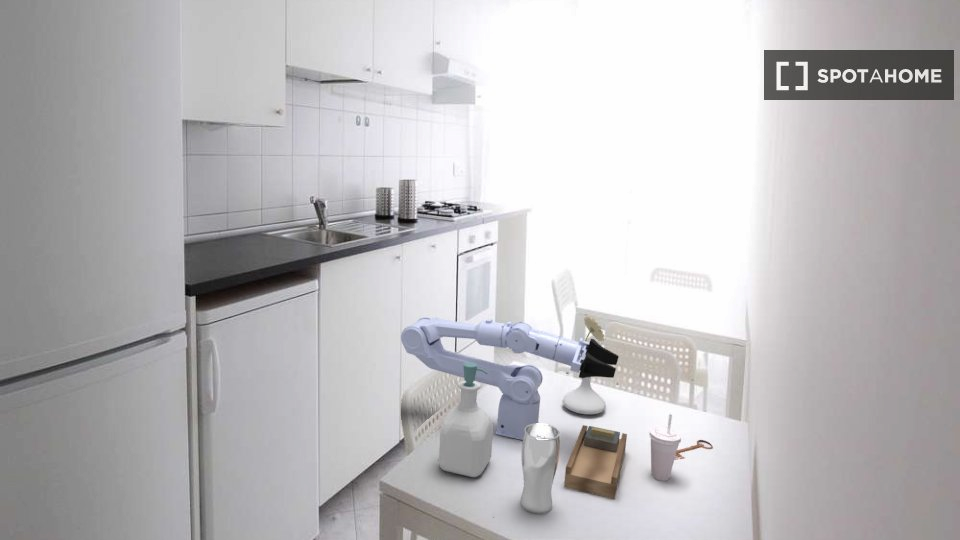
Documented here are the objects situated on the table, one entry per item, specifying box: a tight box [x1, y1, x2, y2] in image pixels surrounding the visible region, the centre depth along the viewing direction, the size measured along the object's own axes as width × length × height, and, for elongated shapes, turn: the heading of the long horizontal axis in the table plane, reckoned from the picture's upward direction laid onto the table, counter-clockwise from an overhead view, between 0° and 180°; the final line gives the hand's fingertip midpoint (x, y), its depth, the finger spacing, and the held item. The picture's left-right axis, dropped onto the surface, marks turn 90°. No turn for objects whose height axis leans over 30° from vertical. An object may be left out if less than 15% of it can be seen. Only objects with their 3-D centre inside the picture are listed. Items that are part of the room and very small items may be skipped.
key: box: [674, 439, 714, 461], centre depth 132 cm, size 6×1×15 cm
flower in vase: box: [562, 314, 607, 415], centre depth 150 cm, size 13×11×25 cm
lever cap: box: [584, 425, 621, 452], centre depth 127 cm, size 7×6×3 cm
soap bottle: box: [438, 362, 494, 478], centre depth 118 cm, size 10×10×23 cm
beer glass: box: [519, 422, 561, 515], centre depth 107 cm, size 7×7×15 cm
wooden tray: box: [563, 424, 628, 500], centre depth 122 cm, size 10×20×4 cm, turn 160°
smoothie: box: [648, 413, 682, 481], centre depth 119 cm, size 6×6×14 cm
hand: (616, 366), depth 127 cm, fingers open, 7 cm apart
